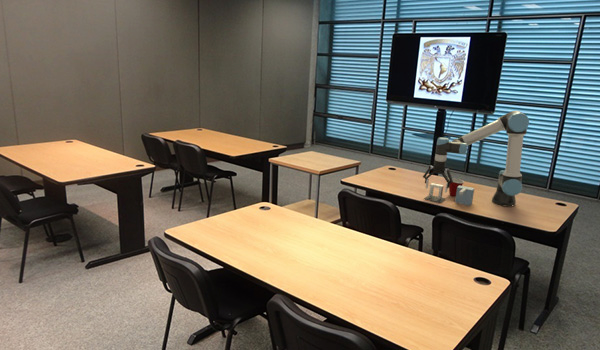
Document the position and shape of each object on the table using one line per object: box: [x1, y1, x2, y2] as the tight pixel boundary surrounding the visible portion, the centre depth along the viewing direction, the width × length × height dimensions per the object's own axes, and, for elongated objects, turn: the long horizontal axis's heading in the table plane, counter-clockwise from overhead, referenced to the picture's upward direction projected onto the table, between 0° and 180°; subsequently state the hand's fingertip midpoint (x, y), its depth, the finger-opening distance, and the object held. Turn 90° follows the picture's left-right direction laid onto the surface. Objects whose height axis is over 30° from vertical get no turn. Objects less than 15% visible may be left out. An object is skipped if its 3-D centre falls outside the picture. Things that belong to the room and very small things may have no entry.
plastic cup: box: [448, 177, 465, 198], centre depth 311 cm, size 11×11×12 cm
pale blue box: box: [428, 182, 444, 200], centre depth 300 cm, size 8×4×10 cm, turn 56°
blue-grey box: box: [454, 185, 475, 207], centre depth 292 cm, size 10×16×11 cm, turn 146°
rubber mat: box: [423, 194, 447, 204], centre depth 302 cm, size 12×12×1 cm
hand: (436, 190), depth 300 cm, fingers open, 13 cm apart
